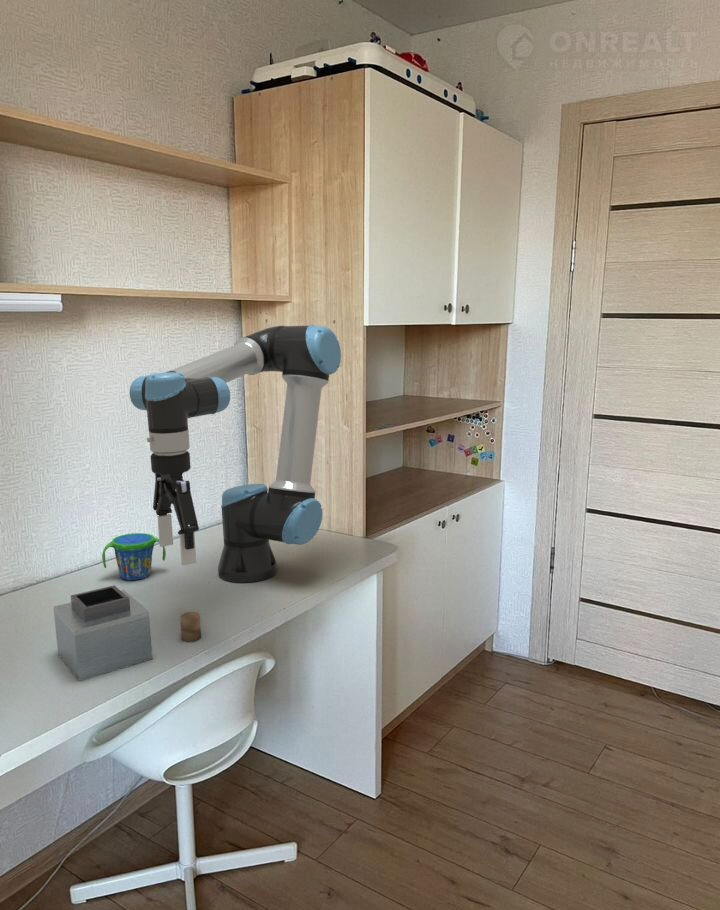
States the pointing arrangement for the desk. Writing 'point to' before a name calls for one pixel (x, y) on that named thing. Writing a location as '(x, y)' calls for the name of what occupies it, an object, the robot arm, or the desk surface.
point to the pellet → (190, 627)
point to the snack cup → (133, 554)
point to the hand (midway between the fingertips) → (177, 554)
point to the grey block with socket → (102, 632)
